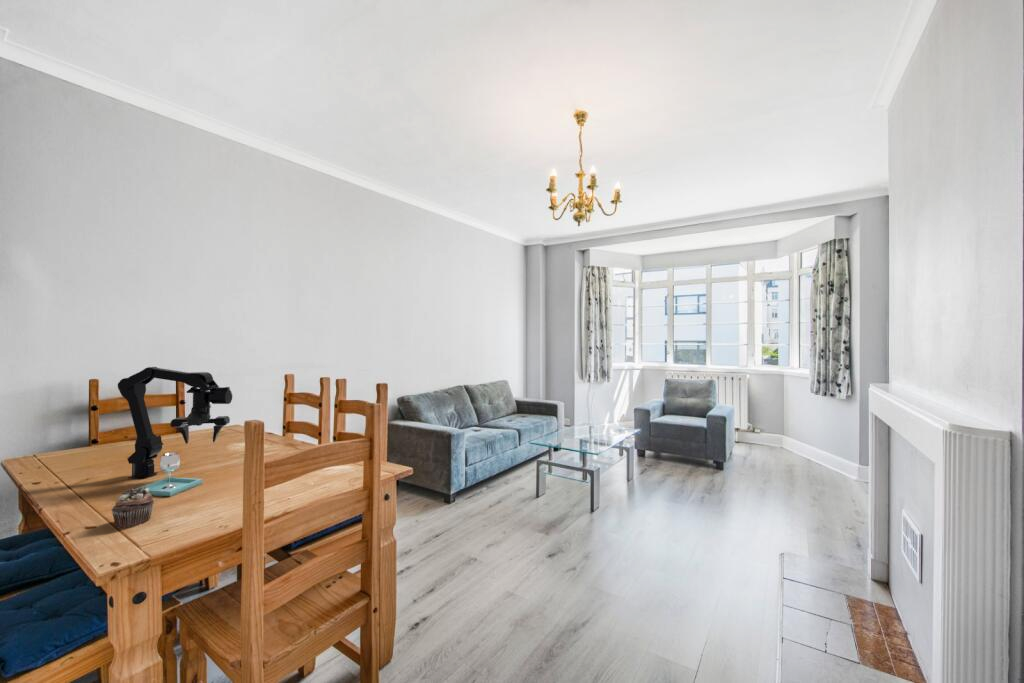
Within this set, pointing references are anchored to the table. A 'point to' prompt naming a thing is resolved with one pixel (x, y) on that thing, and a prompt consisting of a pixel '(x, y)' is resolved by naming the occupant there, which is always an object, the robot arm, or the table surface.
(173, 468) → the wineglass
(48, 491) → the table surface
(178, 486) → the tray
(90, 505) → the table surface
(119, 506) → the cupcake
